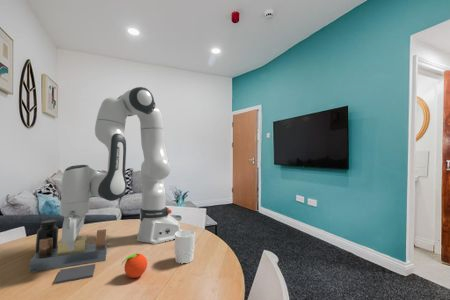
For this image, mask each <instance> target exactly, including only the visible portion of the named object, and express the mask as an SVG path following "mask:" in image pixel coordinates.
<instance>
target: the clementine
mask: <svg viewBox="0 0 450 300" xmlns="http://www.w3.org/2000/svg"><path fill="white" fill-rule="evenodd" d="M123 264H124V267H123V268H124V272H125V274H126V275H127V276H128V277H129V278H134V279H135V278H139V277H140V276H142V275H143V274H144V273H145V271H146V270H147V267H148V260H147V258H146V256H145V255H143V254H141V253H134V254H132V255H129V256H127V257H126V258H125V259H124V260H123V261H122V263H121V264H120V266H121V267H122V265H123Z"/></svg>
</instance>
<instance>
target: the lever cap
mask: <svg viewBox="0 0 450 300" xmlns="http://www.w3.org/2000/svg"><path fill="white" fill-rule="evenodd" d="M87 243H88V235H81V236H80V235H79V236H78V237H76V239H75V248H74V250H72V251H68V244H67V243H62V238H60V240H59V241H58V242H57V248H58V255H60V254H67V253H74V252H81V251H85V249H86V246H87Z"/></svg>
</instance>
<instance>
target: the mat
mask: <svg viewBox="0 0 450 300" xmlns="http://www.w3.org/2000/svg"><path fill="white" fill-rule="evenodd" d="M95 269H96V263H91V264H86V265H81V266H80V265H79V266H76V267H75V266H74V267H70V268H68V267H66V268H62V269H60V270H59V272H58V274H57V276H56V278H55V280H54V282H53V285H57V284H61V283H67V282H72V281H77V280H83V279H89V278H93V276H94V273H95Z"/></svg>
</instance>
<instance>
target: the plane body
mask: <svg viewBox="0 0 450 300" xmlns="http://www.w3.org/2000/svg"><path fill="white" fill-rule="evenodd" d="M106 239H107V229H106V228H105V229H98V230H97V231H96V242H95V243H90V244H89V243H88V244H87V246H86V249H85V251H81V252H74V253H67V254H60V255H58V247H57V248H56V249H52V244H53V238H44V239H41V240H40V242H39V251H38V252H37V253H35V254H34V255H33V257H31V259H30V260H29V273H35V272H37V273H38V272H41V271H42V272H43V271H48V270H54V269H60V268H62V269H63V268H68V267H73V266H74V267H75V266H80V265H85V264H86V265H87V264H94V263H98V262H105V261H106V259H107V254H108V241H107V240H106Z"/></svg>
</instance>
